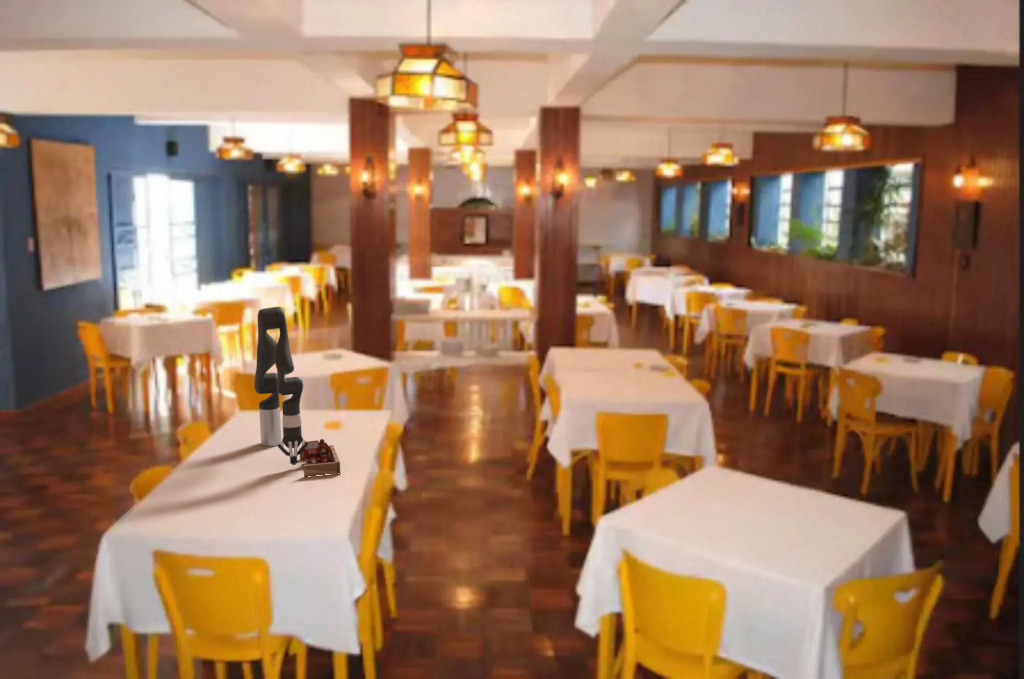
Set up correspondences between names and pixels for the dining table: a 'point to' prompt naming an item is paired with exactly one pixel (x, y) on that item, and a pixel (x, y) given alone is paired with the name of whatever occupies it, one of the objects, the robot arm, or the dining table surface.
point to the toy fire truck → (317, 452)
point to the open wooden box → (322, 465)
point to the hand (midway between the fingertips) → (293, 464)
